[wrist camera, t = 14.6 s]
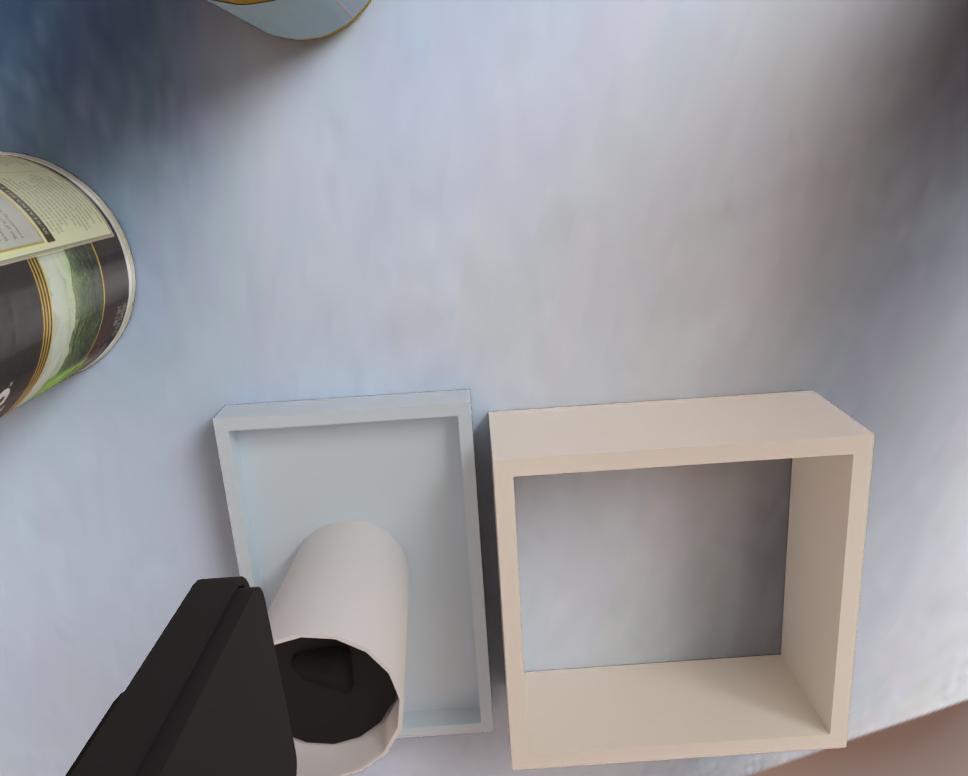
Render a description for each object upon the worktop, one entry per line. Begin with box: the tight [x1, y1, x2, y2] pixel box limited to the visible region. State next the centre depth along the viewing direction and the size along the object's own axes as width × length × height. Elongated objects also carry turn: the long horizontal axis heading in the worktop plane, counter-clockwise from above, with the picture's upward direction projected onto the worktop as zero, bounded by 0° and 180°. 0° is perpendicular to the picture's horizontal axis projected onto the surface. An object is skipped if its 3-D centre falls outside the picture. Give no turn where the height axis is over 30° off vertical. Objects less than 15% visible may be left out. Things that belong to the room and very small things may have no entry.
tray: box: [213, 389, 493, 738], centre depth 39 cm, size 12×18×2 cm, turn 4°
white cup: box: [268, 520, 410, 776], centre depth 35 cm, size 7×7×10 cm
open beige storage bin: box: [488, 390, 875, 770], centre depth 38 cm, size 16×16×6 cm
